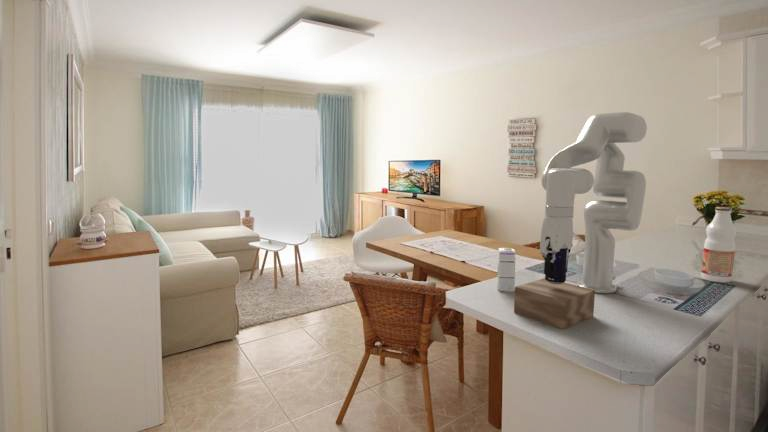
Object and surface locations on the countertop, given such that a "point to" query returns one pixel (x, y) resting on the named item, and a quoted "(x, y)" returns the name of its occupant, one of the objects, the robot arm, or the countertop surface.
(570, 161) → the robot arm
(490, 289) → the countertop surface
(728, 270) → the fruit juice
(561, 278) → the beverage can
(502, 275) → the syrup box
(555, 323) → the walnut block
